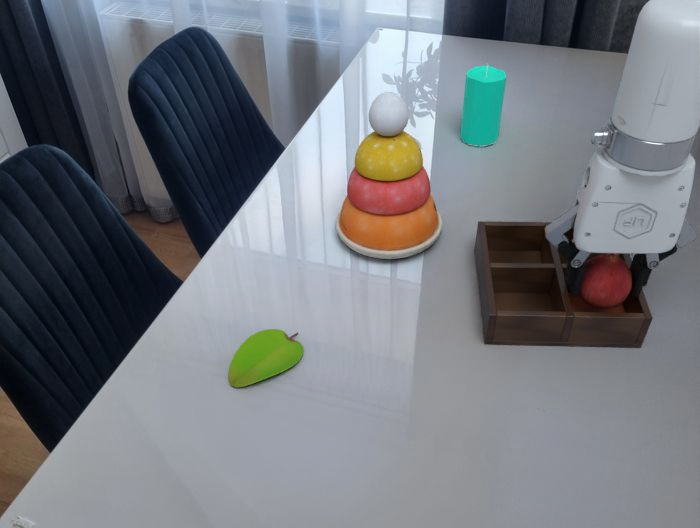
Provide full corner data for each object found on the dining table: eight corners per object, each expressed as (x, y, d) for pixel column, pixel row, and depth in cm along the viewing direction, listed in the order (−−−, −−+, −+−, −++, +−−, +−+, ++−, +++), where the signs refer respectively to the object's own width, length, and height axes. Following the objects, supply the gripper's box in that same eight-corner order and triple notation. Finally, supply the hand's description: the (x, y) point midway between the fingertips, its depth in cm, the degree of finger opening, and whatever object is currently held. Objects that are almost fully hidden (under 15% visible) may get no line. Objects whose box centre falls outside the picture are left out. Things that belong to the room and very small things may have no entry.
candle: (483, 151, 107) (493, 76, 98) (452, 139, 110) (459, 64, 101) (505, 136, 110) (516, 62, 101) (474, 125, 113) (482, 51, 104)
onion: (562, 311, 78) (576, 256, 72) (581, 284, 81) (596, 229, 76) (612, 331, 76) (631, 275, 70) (629, 301, 79) (649, 246, 73)
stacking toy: (455, 257, 89) (470, 116, 74) (348, 274, 87) (342, 133, 73) (424, 197, 98) (432, 63, 84) (327, 211, 96) (319, 76, 82)
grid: (609, 251, 88) (618, 222, 85) (641, 347, 76) (652, 318, 73) (474, 250, 90) (478, 221, 86) (484, 344, 78) (489, 315, 74)
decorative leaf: (311, 377, 75) (311, 371, 75) (231, 391, 74) (230, 386, 73) (296, 327, 80) (296, 321, 79) (221, 340, 78) (220, 334, 78)
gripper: (560, 162, 61) (528, 309, 74) (758, 163, 60) (690, 312, 73) (548, 121, 67) (520, 266, 80) (730, 122, 66) (672, 268, 79)
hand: (602, 287), depth 76 cm, fingers closed on onion, 5 cm apart
